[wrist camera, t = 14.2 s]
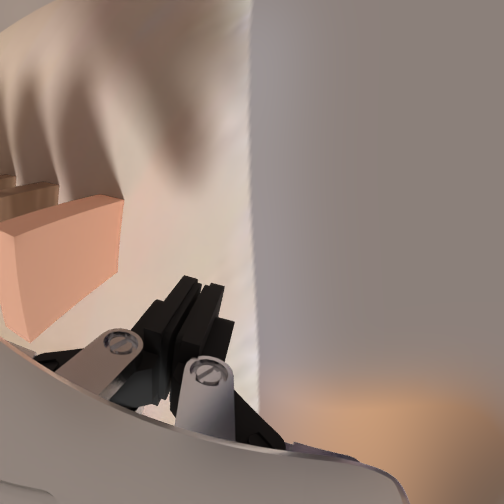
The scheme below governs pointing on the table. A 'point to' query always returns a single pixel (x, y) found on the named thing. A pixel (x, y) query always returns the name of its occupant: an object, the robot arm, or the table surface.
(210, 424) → the robot arm
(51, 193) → the domino
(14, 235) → the domino
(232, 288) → the table surface
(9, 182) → the domino
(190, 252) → the table surface
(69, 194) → the table surface
